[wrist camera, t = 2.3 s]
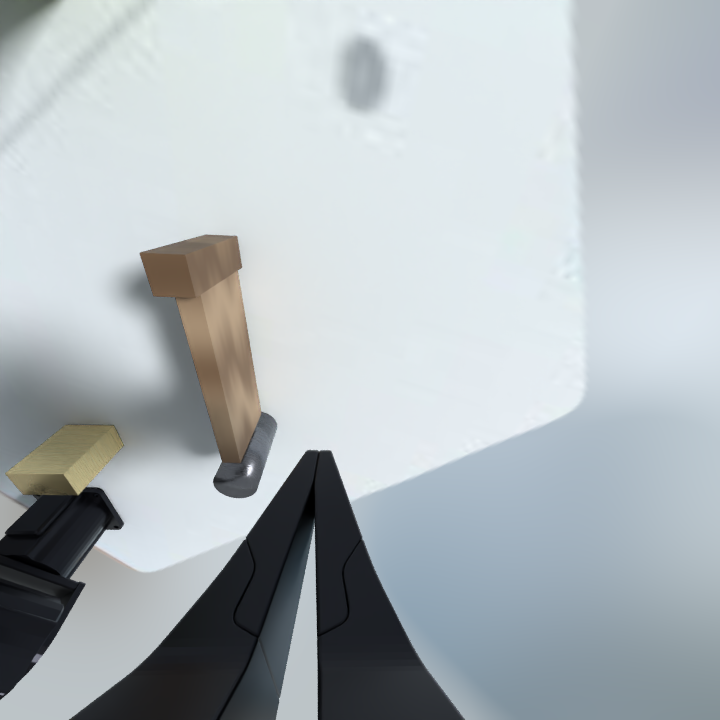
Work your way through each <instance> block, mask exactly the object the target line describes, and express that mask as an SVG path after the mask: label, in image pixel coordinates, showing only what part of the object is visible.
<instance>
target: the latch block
mask: <svg viewBox="0 0 720 720" xmlns="http://www.w3.org/2000/svg"><path fill="white" fill-rule="evenodd" d="M123 446H124V445H123V443H122V441H121V439H120V437H119V435H118V433H117V431H116V429H115V427H114V426H107V425H65V426H64V427H62V428H61V429H60V430H59V431H57V432H56V433H55V434H54V435H52V436H51V437H50V438H49V439H47V440H46V441H45V442H44V443H42V444H41V445H40V446H39V447H37V448H36V449H35V450H34V451H33V452H31V453H30V454H29V455H28V456H26V457H25V458H24V459H23V460H21V461H20V462H19V463H18V464H16V465H15V466H14V467H13V468H11V469H10V470H9V471H8V472H6V473H5V474H6V475H7V476H8V478H9V479H10V480H11V481H12V482H13V483H14V485H15V486H16V487H17V488H18V489H19V490H20V492H21V493H22V494H23V495H79V494H80V493H81V492H82V491H83V490H84V488H85V487H86V486H87V485H88V484H89V483H90V482H91V481H92V480H93V479H94V478H95V476H96V475H97V474H98V473H99V472H100V471H101V470H102V469H103V468H104V467H105V465H106V464H107V463H108V462H109V461H110V460H111V459H112V458H113V457H114V456H115V455H116V453H117V452H118V451H119V450H120V449H121V448H122V447H123Z"/></svg>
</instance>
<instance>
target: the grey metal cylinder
mask: <svg viewBox="0 0 720 720" xmlns="http://www.w3.org/2000/svg"><path fill="white" fill-rule="evenodd" d="M276 430H277V423H276V421H275V420H274V418H273V417H271V416H270V415H268V414H266V413H263V412H261V416H260V418H259V420H258V423H257V425H256V427H255V430H254V432H253V435H252V437H251V439H250V442H249V444H248V446H247V449H246V451H245V454H244V456H243V458H242V461H241V463H221V465H220V467H219V469H218V471H217V473H216V475H215V477H214V480H213V483H214V486H215V488H216V489H217V490H218V491H219V492H220V493H222V494H224V495H226V496H229V497H233V498H246V497H249V496H251V495H253V494H254V493H255V492H256V491H257V488H258V485H259V482H260V479H261V476H262V473H263V470H264V467H265V464H266V460H267V457H268V454H269V451H270V448H271V445H272V442H273V439H274V436H275V433H276Z"/></svg>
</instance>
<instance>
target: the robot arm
mask: <svg viewBox="0 0 720 720" xmlns="http://www.w3.org/2000/svg"><path fill="white" fill-rule="evenodd" d="M33 496H34V497H35V498H36V499H37V501H36V502H35V503H34V504H33V505H32V506H31V507H30V508H29V509H28V510H27V511H26V512H25V513H24V514H23V515H22V516H21V517H20V518H19V519H18V520H17V521H16V522H15V523H14V524H13V525H12V526H10V527H9V528H8V529H7V531H6V532H5V534H6V535H5V537H4V538H2V539H1V540H0V700H1V699H2V698H3V697H4V696H5V695H7V694H8V693H9V692H10V691H11V690H12V689H13V688H14V687H15V685H16V684H17V683H18V682H19V681H20V680H21V679H22V678H23V677H24V676H25V675H26V674H27V673H28V672H29V671H30V670H31V669H32V668H33V666H34V665H35V664H36V663H37V662H38V660H39V659H40V658H41V657H42V655H43V654H44V652H45V651H46V650H47V648H48V647H49V645H50V644H51V643H52V641H53V640H54V638H55V636H56V635H57V633H58V631H59V629H60V628H61V626H62V624H63V623H64V621H65V619H66V617H67V616H68V614H69V612H70V610H71V609H72V607H73V605H74V604H75V602H76V600H77V598H78V597H79V595H80V593H81V591H82V590H83V588H84V586H85V583H83V582H76V581H73V580H71V579H70V577H71V576H72V575H73V573H74V572H75V571H76V569H77V568H78V567H79V565H80V564H81V562H82V561H83V560H84V558H85V557H86V556H87V554H88V553H89V551H90V550H91V549H92V548H93V546H94V545H95V544H96V542H97V541H98V539H99V538H100V537H101V535H102V534H103V533H104V531H105V530H119V529H121V528H122V527H123V525H124V523H123V522H122V520H121V519H120V517H119V515H118V514H117V512H116V511H115V509H114V507H113V506H112V504H111V503H110V501H109V500H108V498H107V496H106V495H105V493H104V492H103V491H102V490H100V489H84V490H83V491H82V492H81V493H80V494H79V495H33ZM314 524H315V551H316V552H315V553H316V603H317V655H318V656H317V658H318V720H465V719H464V718H463V717H462V715H461V714H460V712H459V711H458V710H457V709H456V707H455V706H454V704H453V703H452V702H451V700H450V699H449V698H448V697H447V695H446V694H445V693H444V691H443V690H442V689H441V687H440V686H439V685H438V683H437V682H436V681H435V679H434V678H433V677H432V675H431V674H430V673H429V671H428V670H427V669H426V667H425V666H424V664H423V663H422V661H421V660H420V658H419V656H418V654H417V653H416V651H415V649H414V648H413V646H412V644H411V642H410V640H409V638H408V636H407V635H406V633H405V631H404V629H403V627H402V625H401V623H400V621H399V619H398V617H397V615H396V613H395V611H394V609H393V607H392V605H391V603H390V601H389V599H388V597H387V595H386V593H385V591H384V589H383V587H382V584H381V582H380V580H379V578H378V576H377V574H376V571H375V569H374V567H373V564H372V562H371V560H370V556H369V554H368V552H367V549H366V546H365V543H364V541H363V540H362V535H361V532H360V529H359V527H358V524H357V521H356V518H355V516H354V513H353V510H352V507H351V504H350V502H349V499H348V496H347V493H346V490H345V488H344V485H343V482H342V479H341V476H340V474H339V471H338V468H337V465H336V463H335V460H334V457H333V454H332V452H331V451H330V450H321V451H318V450H307V451H306V452H305V454H304V455H303V457H302V458H301V459H300V461H299V462H298V464H297V465H296V467H295V468H294V469H293V471H292V472H291V474H290V475H289V477H288V478H287V479H286V481H285V482H284V484H283V485H282V487H281V488H280V489H279V491H278V492H277V494H276V495H275V497H274V498H273V499H272V501H271V502H270V504H269V505H268V507H267V508H266V509H265V511H264V512H263V514H262V515H261V517H260V518H259V519H258V521H257V522H256V524H255V525H254V527H253V528H252V529H251V531H250V532H249V534H248V535H247V537H246V540H244V541H243V542H242V544H241V545H240V546H239V548H238V549H237V551H236V552H235V553H234V555H233V556H232V558H231V559H230V561H229V562H228V563H227V564H226V566H225V567H224V568H223V570H222V571H221V572H220V573H219V575H218V576H217V577H216V579H215V580H214V581H213V582H212V583H211V585H210V586H209V587H208V588H207V590H206V591H205V592H204V593H203V594H202V595H201V597H200V598H199V599H198V600H197V601H196V602H195V604H194V605H193V606H192V607H191V609H190V610H189V611H188V612H187V613H186V614H185V616H184V617H183V618H182V619H181V620H180V622H179V623H178V624H177V625H176V626H175V627H174V628H173V630H172V631H171V632H170V633H169V635H168V636H167V637H166V638H165V639H164V640H163V641H162V643H161V644H160V645H159V646H158V647H157V648H156V649H155V650H154V651H153V652H152V654H151V655H150V656H149V657H148V658H146V660H144V661H143V662H142V663H141V664H140V665H139V666H138V667H137V668H136V669H134V670H133V671H132V672H131V673H130V674H129V675H127V676H126V677H125V678H123V679H122V680H121V681H119V682H118V683H117V684H115V685H114V686H113V687H112V688H110V689H109V690H108V691H106V692H105V693H104V694H102V695H101V696H100V697H98V698H97V699H96V700H94V701H93V702H92V703H90V704H89V705H88V706H87V707H85V708H84V709H83V710H81V711H80V712H79V713H78V714H76V715H75V716H73V717H72V718H71V719H69V720H276V715H277V710H278V704H279V698H280V694H281V689H282V684H283V679H284V674H285V669H286V664H287V659H288V654H289V649H290V644H291V639H292V634H293V629H294V624H295V619H296V614H297V609H298V604H299V599H300V594H301V589H302V584H303V579H304V574H305V569H306V564H307V559H308V554H309V549H310V544H311V539H312V534H313V529H314Z"/></svg>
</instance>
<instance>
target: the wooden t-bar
mask: <svg viewBox="0 0 720 720" xmlns="http://www.w3.org/2000/svg"><path fill="white" fill-rule="evenodd" d="M140 256H141V259H142V262H143V265H144V268H145V271H146V274H147V278H148V281H149V284H150V287H151V290H152V293H153V296H157V297H175V298H176V302H177V305H178V309H179V312H180V316H181V319H182V323H183V326H184V330H185V333H186V337H187V340H188V344H189V347H190V351H191V354H192V358H193V361H194V365H195V368H196V372H197V375H198V379H199V382H200V386H201V389H202V393H203V396H204V400H205V403H206V407H207V410H208V414H209V417H210V421H211V424H212V428H213V431H214V435H215V438H216V442H217V445H218V449H219V452H220V456H221V459H222V463H241V461H242V458H243V456H244V454H245V451H246V449H247V446H248V444H249V442H250V439H251V437H252V435H253V432H254V430H255V427H256V425H257V423H258V420H259V418H260V416H261V409H260V403H259V396H258V390H257V384H256V378H255V372H254V366H253V360H252V354H251V348H250V342H249V336H248V330H247V324H246V318H245V312H244V306H243V300H242V294H241V288H240V282H239V276H238V270H239V269H241V268H242V264H241V258H240V251H239V245H238V239H237V236H223V235H203V236H199V237H196V238H192V239H188V240H185V241H181V242H177V243H174V244H170V245H166V246H163V247H159V248H155V249H152V250H148V251H144V252H141V253H140Z"/></svg>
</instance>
